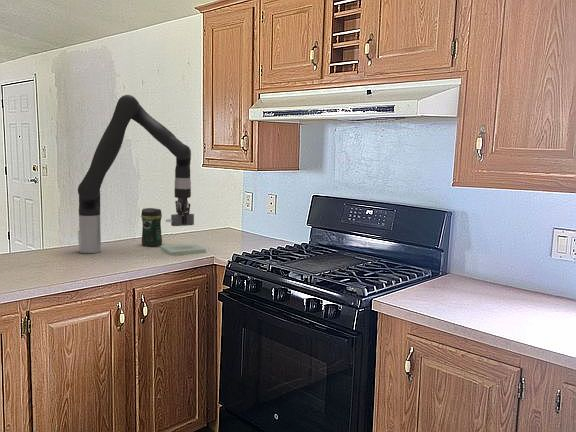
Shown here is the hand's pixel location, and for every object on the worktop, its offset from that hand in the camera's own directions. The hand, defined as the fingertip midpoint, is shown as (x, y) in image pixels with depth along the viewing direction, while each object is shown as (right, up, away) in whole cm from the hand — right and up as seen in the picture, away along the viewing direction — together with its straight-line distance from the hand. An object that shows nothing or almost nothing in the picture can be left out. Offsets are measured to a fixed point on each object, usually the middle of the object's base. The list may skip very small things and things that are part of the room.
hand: (182, 223), depth 248 cm
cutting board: (0, -13, +2) cm, 13 cm away
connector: (-1, -1, 0) cm, 1 cm away
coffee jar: (-18, -11, +13) cm, 25 cm away
